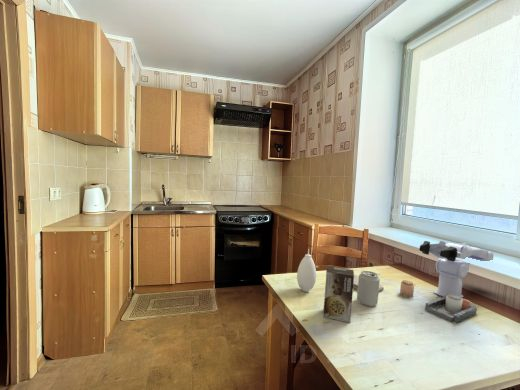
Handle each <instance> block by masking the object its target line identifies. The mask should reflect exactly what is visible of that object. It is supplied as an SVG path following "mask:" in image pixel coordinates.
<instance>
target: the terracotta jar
mask: <svg viewBox="0 0 520 390" xmlns="http://www.w3.org/2000/svg"><path fill="white" fill-rule="evenodd" d="M414 292H415V284H414V283H413V282H412V281H410V280H401V281H400V290H399V294H400V295H401V296H403V297H406V298H414Z"/></svg>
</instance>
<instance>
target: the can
mask: <svg viewBox="0 0 520 390" xmlns="http://www.w3.org/2000/svg"><path fill="white" fill-rule="evenodd" d="M358 276H359V281H358V290H357V291H356V292H357V293H356V300H357V301H358V303H359V304H360V305H362V306H365V307H371V308H372V307H375V306H376V305H378V301H379V293H380V292H379V285H380V280H381V278H379V274H378V273H377V272H374V271H371V270H361V271H360V273H359V275H358Z"/></svg>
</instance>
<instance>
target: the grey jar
mask: <svg viewBox="0 0 520 390" xmlns="http://www.w3.org/2000/svg"><path fill="white" fill-rule="evenodd" d="M461 298H462V297H459V296H457V295H453V294H448V295H447V296H446V304H445V305H444V309H445V311H446V312H449V313H452V314H456V313H459V312H461V311H462V302H463V300H462V299H461Z"/></svg>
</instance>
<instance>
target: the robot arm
mask: <svg viewBox="0 0 520 390" xmlns="http://www.w3.org/2000/svg"><path fill="white" fill-rule="evenodd" d="M419 251H420V252H421V253H422V254H424V255H426V256H427V255H428V256H429V255H430V254H432V255H433V256H435V257H437V258H438V259H437V260H436V261H435V269H436V271H437V274H439V276H438V286H437V287H438V288H437V290H435V291H433V293H434V294H436V295H439V296H442V297H444V296H447V293H450V294H453V295H457V296H459V297H461V298H463V297H464V295H463V294H462V290H463V279H462V278H464V277H466V276H467V275H468V273H470V272H469V265H470V263H466V262H462V261H463V259H465V258H466V257H468V258H472V259H476V260H480V261H490V260H494V252H492V251H490V250H487V249H483V248H479V247H475V246H470V245H469V244H468V243H464V242H462V243H452V242H448V243H447V242H446V241H443V240H439V242H438V243H431V241H427V240H424V241H423V243H421V244H420V245H419ZM457 258H458V259H460V260H456V259H457ZM461 259H462V260H461Z"/></svg>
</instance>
